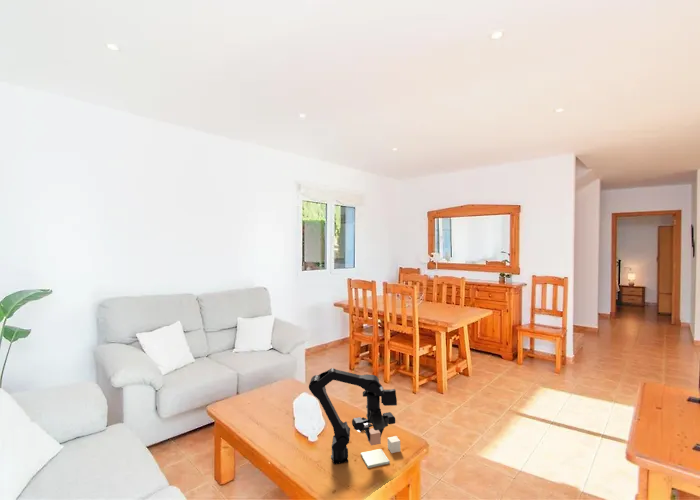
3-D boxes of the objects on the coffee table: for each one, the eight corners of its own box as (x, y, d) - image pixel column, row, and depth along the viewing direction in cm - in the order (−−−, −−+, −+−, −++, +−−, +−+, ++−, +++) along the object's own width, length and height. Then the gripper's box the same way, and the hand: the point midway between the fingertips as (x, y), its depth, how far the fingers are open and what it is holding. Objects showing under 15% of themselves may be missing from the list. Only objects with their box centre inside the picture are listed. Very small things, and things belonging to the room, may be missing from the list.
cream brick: (391, 453, 167) (391, 442, 167) (387, 448, 172) (387, 437, 171) (400, 451, 168) (400, 440, 168) (396, 446, 173) (396, 435, 173)
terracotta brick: (371, 445, 160) (370, 434, 160) (367, 440, 164) (367, 429, 164) (380, 443, 161) (380, 432, 161) (377, 438, 166) (376, 427, 165)
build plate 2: (358, 435, 184) (358, 426, 184) (349, 429, 190) (348, 421, 190) (376, 426, 193) (375, 417, 192) (366, 421, 198) (366, 412, 198)
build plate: (367, 468, 157) (367, 465, 157) (360, 454, 166) (360, 452, 166) (389, 463, 160) (389, 461, 160) (381, 450, 169) (381, 448, 169)
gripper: (358, 417, 152) (359, 453, 152) (400, 410, 157) (400, 445, 158) (351, 405, 163) (352, 439, 163) (390, 399, 168) (390, 432, 168)
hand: (374, 439), depth 163 cm, fingers closed on terracotta brick, 4 cm apart
